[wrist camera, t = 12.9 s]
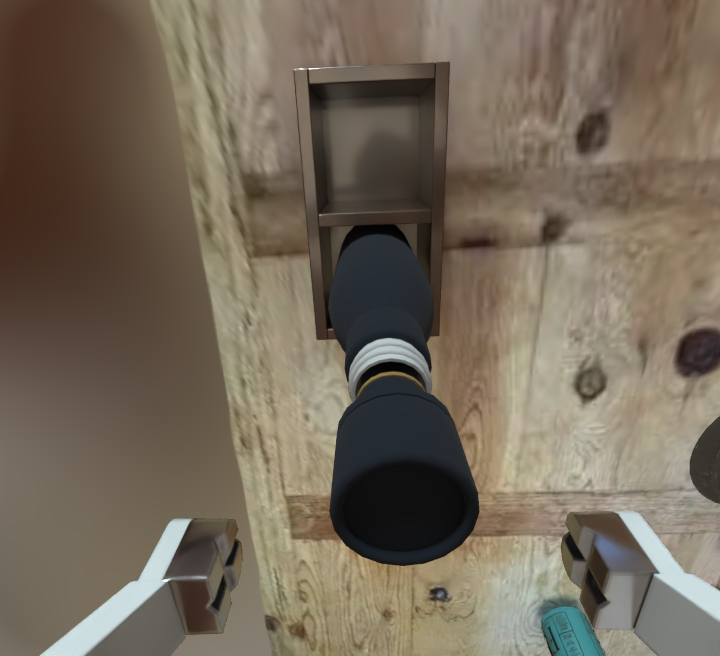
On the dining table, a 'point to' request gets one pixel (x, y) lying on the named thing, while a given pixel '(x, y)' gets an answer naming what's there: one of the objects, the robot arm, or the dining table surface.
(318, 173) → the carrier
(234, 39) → the dining table surface
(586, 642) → the beverage bottle
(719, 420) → the tankard
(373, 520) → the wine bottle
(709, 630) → the robot arm
